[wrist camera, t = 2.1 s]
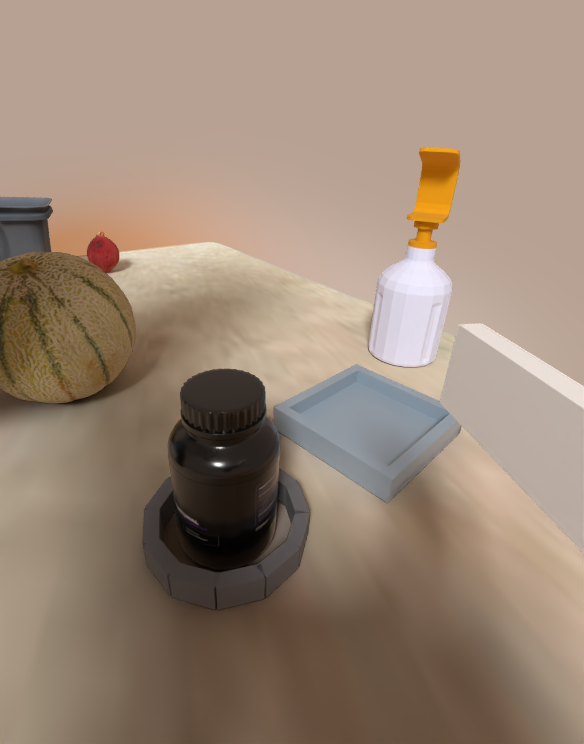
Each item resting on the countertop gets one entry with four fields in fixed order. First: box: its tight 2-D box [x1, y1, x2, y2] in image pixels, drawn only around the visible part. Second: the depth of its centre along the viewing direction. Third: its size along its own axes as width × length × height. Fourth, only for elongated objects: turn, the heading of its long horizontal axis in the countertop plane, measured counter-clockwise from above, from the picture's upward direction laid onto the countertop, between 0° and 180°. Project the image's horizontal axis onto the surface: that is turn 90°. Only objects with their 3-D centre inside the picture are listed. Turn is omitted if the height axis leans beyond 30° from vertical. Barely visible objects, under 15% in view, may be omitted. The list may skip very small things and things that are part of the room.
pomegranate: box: [87, 232, 119, 273], centre depth 80 cm, size 6×6×8 cm
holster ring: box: [143, 468, 310, 610], centre depth 28 cm, size 11×11×2 cm
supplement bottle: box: [168, 369, 280, 570], centre depth 26 cm, size 7×7×12 cm
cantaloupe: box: [0, 252, 135, 404], centre depth 40 cm, size 15×15×15 cm
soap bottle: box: [368, 148, 460, 367], centre depth 49 cm, size 9×9×25 cm
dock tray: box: [274, 364, 461, 503], centre depth 39 cm, size 13×13×2 cm
